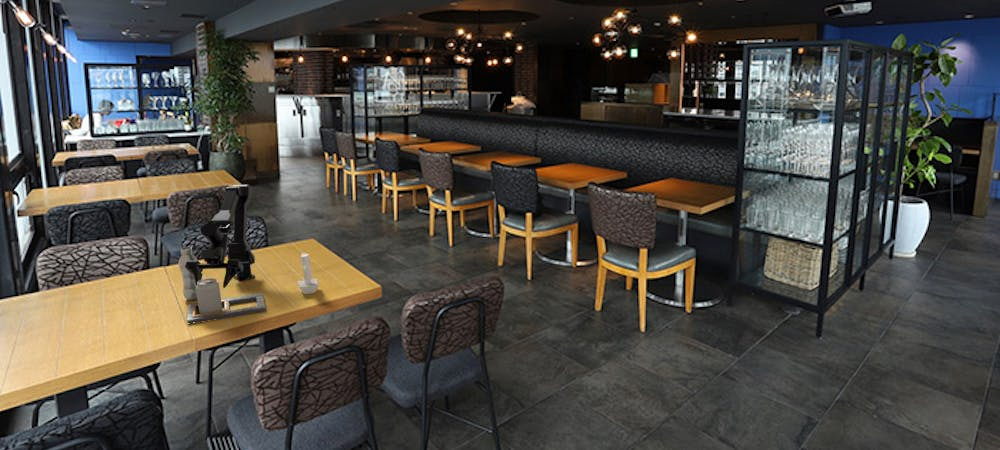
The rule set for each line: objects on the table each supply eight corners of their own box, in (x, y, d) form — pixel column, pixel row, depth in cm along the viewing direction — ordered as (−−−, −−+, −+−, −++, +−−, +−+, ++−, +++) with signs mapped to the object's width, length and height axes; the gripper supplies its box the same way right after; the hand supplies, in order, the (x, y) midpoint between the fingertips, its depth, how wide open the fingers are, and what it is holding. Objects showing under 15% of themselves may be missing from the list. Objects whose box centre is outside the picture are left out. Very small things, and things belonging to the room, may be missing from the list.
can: (211, 317, 209) (206, 285, 206) (194, 315, 212) (189, 283, 208) (227, 309, 216) (223, 278, 213) (211, 307, 218) (206, 276, 215)
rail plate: (262, 296, 227) (262, 292, 227) (265, 311, 214) (265, 306, 214) (189, 308, 217) (188, 303, 217) (187, 324, 204) (187, 319, 204)
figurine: (300, 297, 227) (296, 259, 223) (297, 289, 235) (293, 252, 231) (320, 294, 230) (316, 257, 225) (316, 286, 238) (313, 250, 234)
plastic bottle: (207, 296, 228) (200, 246, 223) (193, 303, 222) (185, 251, 217) (194, 294, 230) (186, 244, 225) (180, 300, 224) (171, 250, 219)
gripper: (182, 239, 214) (174, 279, 207) (236, 238, 215) (229, 278, 208) (195, 253, 224) (187, 292, 216) (246, 251, 225) (240, 290, 218)
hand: (210, 288), depth 214 cm, fingers open, 9 cm apart
